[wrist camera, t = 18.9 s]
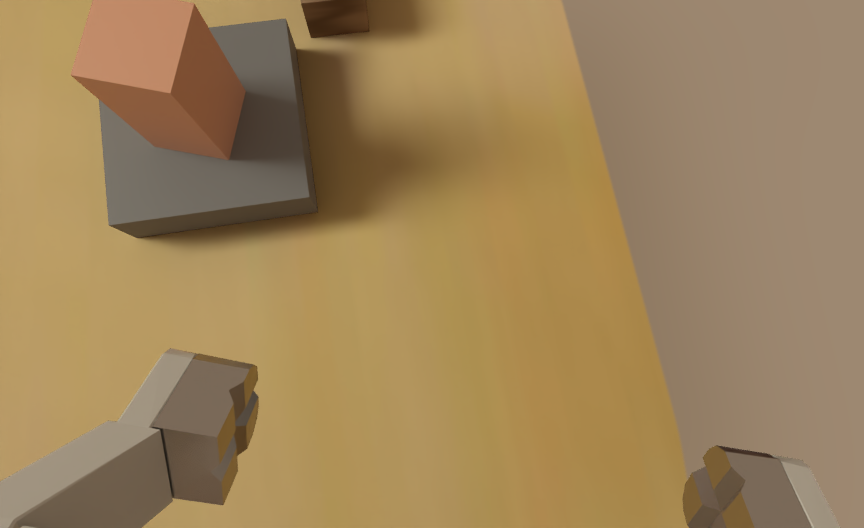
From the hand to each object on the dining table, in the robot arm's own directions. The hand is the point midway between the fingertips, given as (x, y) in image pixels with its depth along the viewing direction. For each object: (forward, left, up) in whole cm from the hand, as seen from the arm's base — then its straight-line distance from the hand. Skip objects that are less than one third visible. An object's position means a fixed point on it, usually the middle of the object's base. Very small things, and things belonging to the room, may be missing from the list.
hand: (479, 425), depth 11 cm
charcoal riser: (-12, +19, -31) cm, 39 cm away
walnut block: (-2, +29, -31) cm, 43 cm away
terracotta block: (-12, +19, -27) cm, 36 cm away
